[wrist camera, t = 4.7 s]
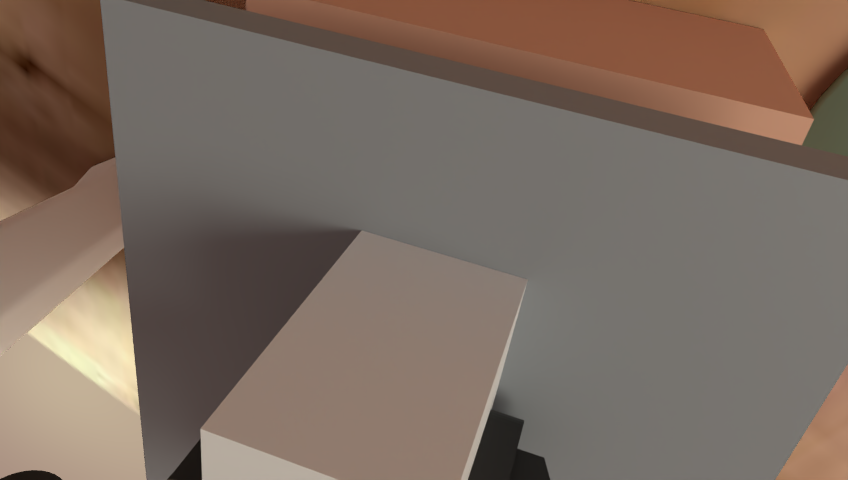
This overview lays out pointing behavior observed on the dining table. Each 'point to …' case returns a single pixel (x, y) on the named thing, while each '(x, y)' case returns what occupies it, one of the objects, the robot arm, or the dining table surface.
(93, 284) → the dining table surface
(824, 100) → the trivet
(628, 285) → the lid
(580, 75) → the crate
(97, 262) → the perfume bottle
